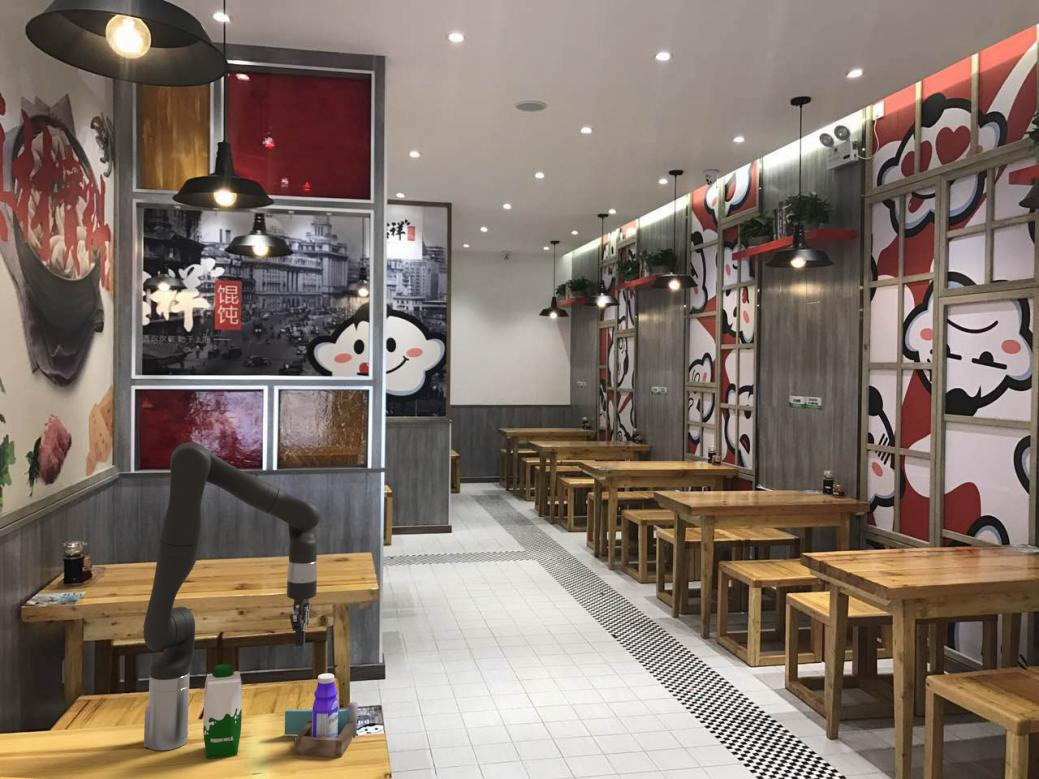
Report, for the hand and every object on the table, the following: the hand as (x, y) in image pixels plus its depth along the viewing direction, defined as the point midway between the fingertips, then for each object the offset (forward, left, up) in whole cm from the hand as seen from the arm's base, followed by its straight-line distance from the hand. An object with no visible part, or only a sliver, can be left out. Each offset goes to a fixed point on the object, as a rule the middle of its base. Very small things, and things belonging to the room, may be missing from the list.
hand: (299, 644), depth 214 cm
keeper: (+7, -2, -22) cm, 23 cm away
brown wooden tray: (+10, -8, -22) cm, 26 cm away
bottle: (+9, -8, -23) cm, 26 cm away
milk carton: (-14, -14, -23) cm, 30 cm away
